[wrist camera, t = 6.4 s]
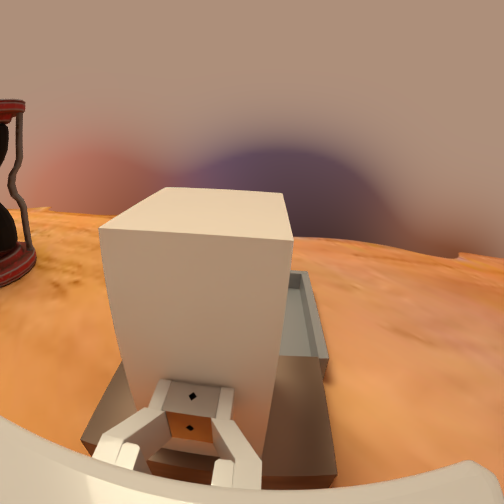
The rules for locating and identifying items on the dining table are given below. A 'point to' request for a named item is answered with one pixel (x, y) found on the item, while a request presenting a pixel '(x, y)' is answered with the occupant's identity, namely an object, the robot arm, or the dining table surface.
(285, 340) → the gray tray
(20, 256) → the hourglass
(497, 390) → the dining table surface
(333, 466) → the brown flat block
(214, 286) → the cream block
